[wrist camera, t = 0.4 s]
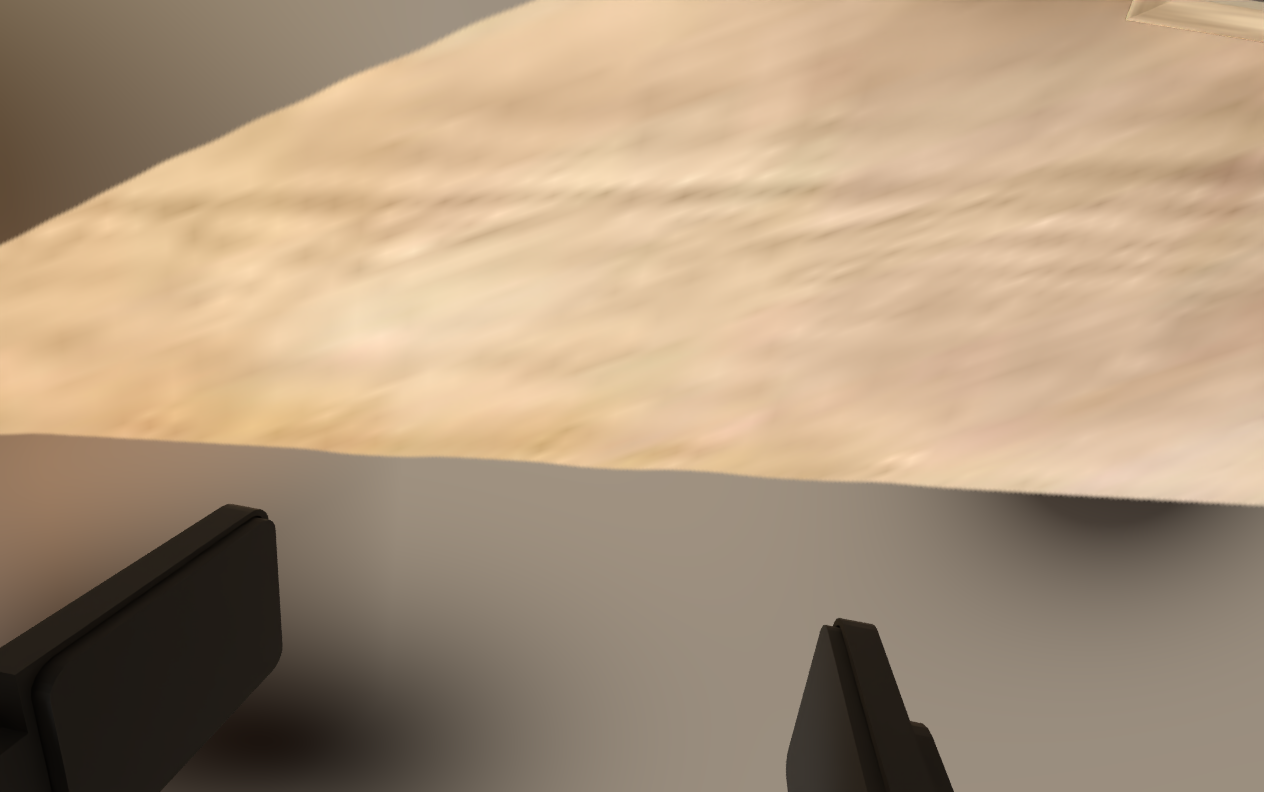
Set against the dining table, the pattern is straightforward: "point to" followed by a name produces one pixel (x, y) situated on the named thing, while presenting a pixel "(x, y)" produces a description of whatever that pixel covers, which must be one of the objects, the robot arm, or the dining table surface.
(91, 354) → the dining table surface
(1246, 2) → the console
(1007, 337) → the dining table surface
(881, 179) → the dining table surface
